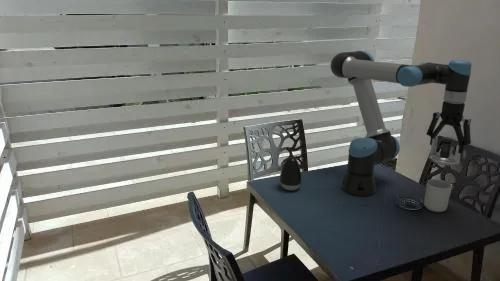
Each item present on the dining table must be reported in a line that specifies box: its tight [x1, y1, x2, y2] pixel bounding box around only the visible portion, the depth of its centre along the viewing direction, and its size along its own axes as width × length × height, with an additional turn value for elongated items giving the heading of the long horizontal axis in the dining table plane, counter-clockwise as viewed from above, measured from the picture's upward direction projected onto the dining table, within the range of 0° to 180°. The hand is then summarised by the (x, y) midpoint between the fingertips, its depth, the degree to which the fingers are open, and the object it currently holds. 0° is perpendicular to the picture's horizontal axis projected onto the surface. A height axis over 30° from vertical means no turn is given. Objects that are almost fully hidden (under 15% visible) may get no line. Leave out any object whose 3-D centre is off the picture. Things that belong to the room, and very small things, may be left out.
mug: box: [423, 178, 453, 213], centre depth 158 cm, size 12×9×11 cm
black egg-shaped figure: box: [279, 155, 303, 191], centre depth 173 cm, size 10×10×15 cm
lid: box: [428, 136, 461, 166], centre depth 151 cm, size 11×11×9 cm
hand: (444, 156), depth 152 cm, fingers closed on lid, 9 cm apart
